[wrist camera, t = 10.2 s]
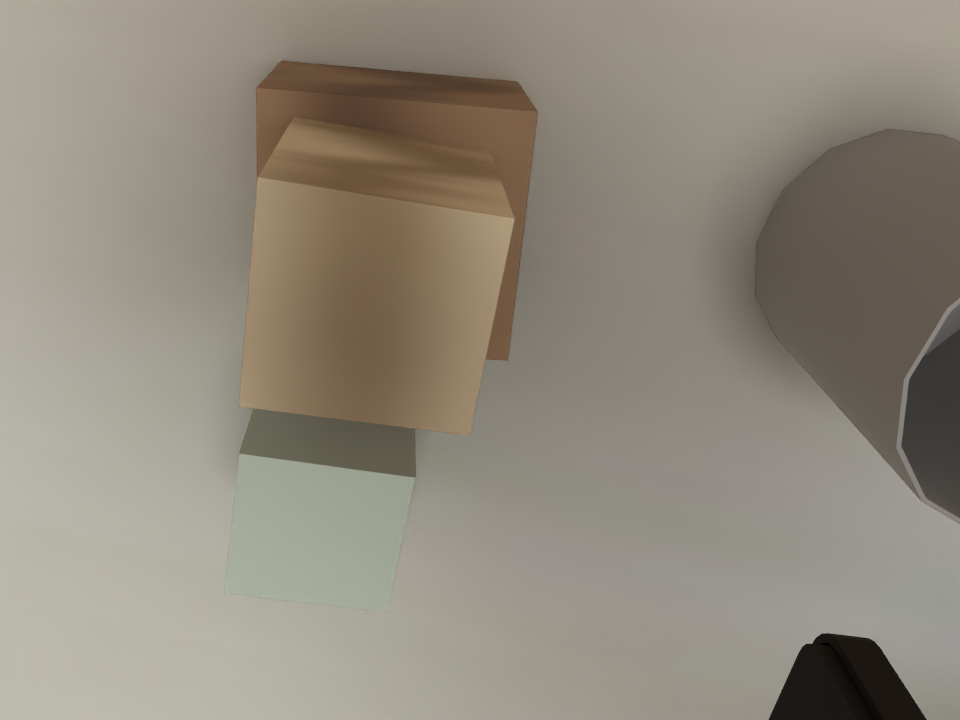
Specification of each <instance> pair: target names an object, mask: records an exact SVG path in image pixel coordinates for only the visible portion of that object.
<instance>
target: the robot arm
mask: <svg viewBox="0 0 960 720" xmlns="http://www.w3.org/2000/svg"><path fill="white" fill-rule="evenodd" d="M769 720H926V718H925V717H924V715H923V714H922V712H921V710H920V709H919V707H918V706H917V704H916V703H915V701H914V700H913V698H912V697H911V695H910V693H909V692H908V690H907V689H906V687H905V686H904V684H903V683H902V681H901V680H900V678H899V676H898V675H897V673H896V672H895V670H894V669H893V667H892V666H891V664H890V663H889V661H888V659H887V658H886V656H885V655H884V653H883V652H882V650H881V649H880V647H879V646H878V645H877V644H876V643H875V642H874V641H873V640H871V639H869V638H862V637H854V636H845V635H837V634H829V633H826V634H821V635H819V636H818V637H817V638H816V639H815V640H814V642H813V644H806V645H805V646H803V647H802V649H801V650H800V652H799V654H798V656H797V658H796V660H795V663H794V665H793V667H792V669H791V671H790V674H789V676H788V678H787V680H786V682H785V685H784V687H783V689H782V691H781V694H780V696H779V698H778V700H777V702H776V705H775V707H774V709H773V711H772V713H771V716H770V718H769Z"/></svg>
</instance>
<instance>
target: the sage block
mask: <svg viewBox="0 0 960 720" xmlns="http://www.w3.org/2000/svg"><path fill="white" fill-rule="evenodd" d="M415 478H416V470H415V429H414V428H406V427H398V426H390V425H382V424H374V423H366V422H358V421H350V420H342V419H334V418H326V417H318V416H310V415H302V414H295V413H287V412H279V411H271V410H263V409H255V408H254V410H253V413H252V416H251V419H250V422H249V425H248V428H247V431H246V434H245V437H244V440H243V443H242V447H241V450H240V453H239V460H238V469H237V478H236V487H235V496H234V505H233V513H232V522H231V531H230V540H229V549H228V558H227V567H226V576H225V585H224V594H233V595H242V596H250V597H259V598H268V599H276V600H285V601H294V602H303V603H311V604H320V605H329V606H338V607H346V608H355V609H364V610H372V611H381V612H388V607H389V602H390V598H391V593H392V588H393V583H394V578H395V574H396V569H397V564H398V559H399V555H400V550H401V545H402V540H403V536H404V531H405V526H406V521H407V516H408V512H409V507H410V502H411V497H412V493H413V488H414V483H415Z"/></svg>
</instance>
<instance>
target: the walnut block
mask: <svg viewBox="0 0 960 720" xmlns="http://www.w3.org/2000/svg"><path fill="white" fill-rule="evenodd" d="M256 107H257V181H258V176H259V174H260V173H261V171H262V169H263V168H264V166H265V164H266V163H267V161H268V159H269V158H270V156H271V154H272V153H273V151H274V149H275V148H276V146H277V144H278V143H279V141H280V139H281V138H282V136H283V134H284V133H285V131H286V129H287V128H288V126H289V124H290V123H291V121H292V119H293V118H294V117H299V118H304V119H310V120H316V121H322V122H328V123H333V124H339V125H345V126H351V127H357V128H362V129H368V130H374V131H380V132H386V133H392V134H397V135H403V136H409V137H415V138H421V139H426V140H432V141H438V142H444V143H450V144H455V145H461V146H467V147H473V148H479V149H484V150H490V151H491V154H492V156H493V159H494V162H495V165H496V168H497V170H498V173H499V176H500V179H501V182H502V185H503V187H504V190H505V193H506V196H507V199H508V201H509V204H510V207H511V210H512V213H513V215H514V218H515V220H514V224H513V229H512V234H511V239H510V244H509V249H508V253H507V258H506V263H505V268H504V273H503V277H502V282H501V287H500V292H499V297H498V301H497V306H496V311H495V316H494V321H493V325H492V330H491V335H490V340H489V345H488V349H487V354H486V359H491V360H508V356H509V348H510V340H511V331H512V323H513V315H514V306H515V298H516V290H517V281H518V273H519V265H520V256H521V248H522V240H523V231H524V223H525V215H526V206H527V198H528V190H529V181H530V173H531V165H532V156H533V148H534V140H535V131H536V123H537V115H538V111H537V110H536V108H535V107H534V105H533V104H532V102H531V101H530V99H529V98H528V96H527V95H526V93H525V92H524V90H523V89H522V87H521V86H520V84H519V83H518V82H515V81H504V80H492V79H481V78H470V77H458V76H447V75H436V74H424V73H413V72H402V71H391V70H379V69H368V68H357V67H345V66H334V65H323V64H311V63H300V62H289V61H281V62H280V63H279V64H278V65H277V66H276V67H275V68H274V70H273V71H272V72H271V73H270V74H269V75H268V76H267V77H266V78H265V79H264V80H263V81H262V82H261V83H260V84H259V86H258V87H257V88H256Z"/></svg>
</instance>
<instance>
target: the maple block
mask: <svg viewBox="0 0 960 720" xmlns="http://www.w3.org/2000/svg"><path fill="white" fill-rule="evenodd" d="M514 220H515V218H514V215H513V213H512V210H511V207H510V204H509V201H508V199H507V196H506V193H505V190H504V187H503V185H502V182H501V179H500V176H499V173H498V170H497V168H496V165H495V162H494V159H493V156H492V154H491V151H490V150H484V149H479V148H473V147H467V146H461V145H455V144H450V143H444V142H438V141H432V140H426V139H421V138H415V137H409V136H403V135H397V134H392V133H386V132H380V131H374V130H368V129H362V128H357V127H351V126H345V125H339V124H333V123H328V122H322V121H316V120H310V119H304V118H299V117H294V118H293V119H292V121H291V123H290V124H289V126H288V128H287V129H286V131H285V133H284V134H283V136H282V138H281V139H280V141H279V143H278V144H277V146H276V148H275V149H274V151H273V153H272V154H271V156H270V158H269V159H268V161H267V163H266V164H265V166H264V168H263V169H262V171H261V173H260V174H259V176H258V181H257V193H256V205H255V217H254V228H253V240H252V252H251V264H250V276H249V288H248V300H247V312H246V324H245V336H244V348H243V360H242V372H241V384H240V396H239V407H247V408H255V409H263V410H271V411H279V412H287V413H295V414H302V415H310V416H318V417H326V418H334V419H342V420H350V421H358V422H366V423H374V424H382V425H390V426H398V427H406V428H414V429H421V430H429V431H437V432H445V433H453V434H461V435H469V436H470V431H471V426H472V422H473V417H474V412H475V407H476V402H477V397H478V393H479V388H480V383H481V378H482V373H483V369H484V364H485V359H486V354H487V349H488V345H489V340H490V335H491V330H492V325H493V321H494V316H495V311H496V306H497V301H498V297H499V292H500V287H501V282H502V277H503V273H504V268H505V263H506V258H507V253H508V249H509V244H510V239H511V234H512V229H513V224H514Z"/></svg>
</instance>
